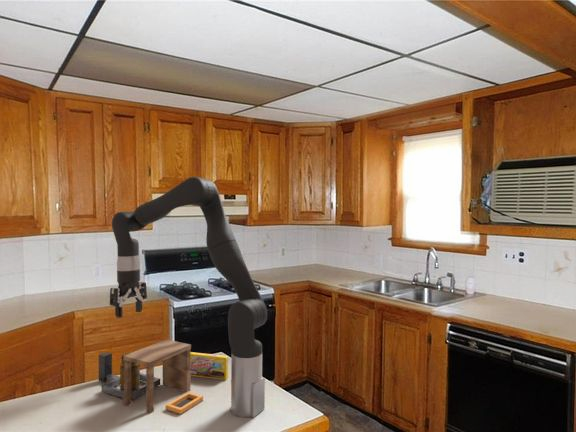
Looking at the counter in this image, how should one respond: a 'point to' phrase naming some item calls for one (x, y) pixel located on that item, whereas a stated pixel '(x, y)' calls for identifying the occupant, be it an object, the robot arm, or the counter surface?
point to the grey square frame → (117, 378)
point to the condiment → (134, 374)
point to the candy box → (209, 366)
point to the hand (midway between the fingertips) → (129, 314)
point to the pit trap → (184, 403)
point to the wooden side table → (173, 368)
